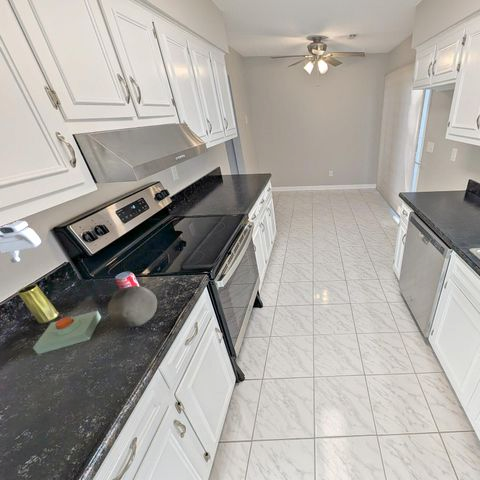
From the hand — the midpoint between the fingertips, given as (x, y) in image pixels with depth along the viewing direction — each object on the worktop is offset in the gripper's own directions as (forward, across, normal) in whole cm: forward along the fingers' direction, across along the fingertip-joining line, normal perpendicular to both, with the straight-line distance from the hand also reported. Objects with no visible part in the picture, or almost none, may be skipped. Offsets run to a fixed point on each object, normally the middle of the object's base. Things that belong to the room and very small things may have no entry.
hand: (14, 261), depth 97 cm
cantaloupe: (+21, +42, -32) cm, 57 cm away
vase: (+21, +6, -12) cm, 25 cm away
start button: (+16, +19, -27) cm, 36 cm away
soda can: (+21, +36, -14) cm, 44 cm away
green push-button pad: (+21, +19, -26) cm, 39 cm away
